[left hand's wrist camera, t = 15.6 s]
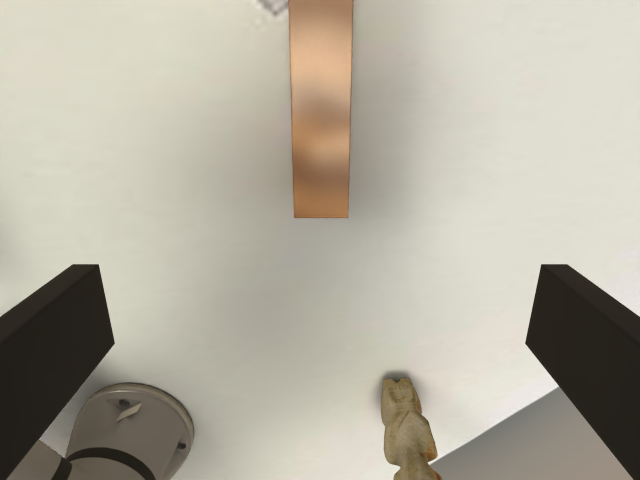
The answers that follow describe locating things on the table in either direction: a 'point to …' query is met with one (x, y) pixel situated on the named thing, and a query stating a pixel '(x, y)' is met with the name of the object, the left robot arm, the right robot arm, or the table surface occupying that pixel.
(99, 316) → the left robot arm
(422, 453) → the sculpture
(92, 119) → the table surface
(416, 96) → the table surface
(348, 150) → the bar
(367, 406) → the table surface
